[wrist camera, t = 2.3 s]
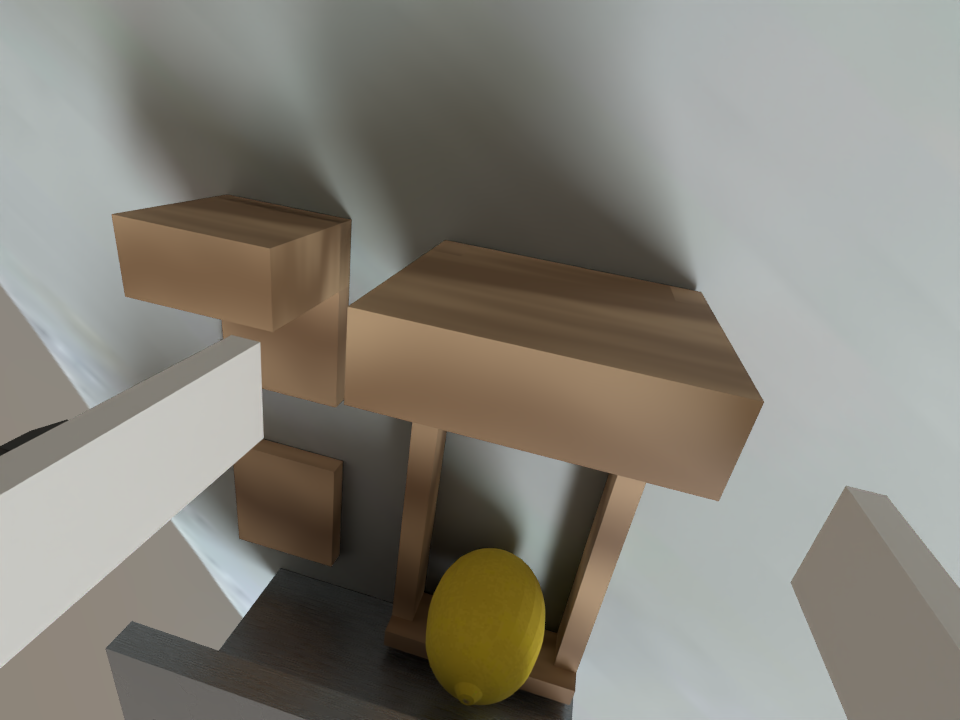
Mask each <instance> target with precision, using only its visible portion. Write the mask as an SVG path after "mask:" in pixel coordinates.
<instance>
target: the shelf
mask: <svg viewBox="0 0 960 720" xmlns="http://www.w3.org/2000/svg"><path fill="white" fill-rule="evenodd" d="M392 610H393V603H390V602H387V601H384V600H380V599H377V598H374V597H371V596H367V595H364V594H361V593H358V592H355V591H351V590H348V589H345V588H342V587H339V586H335V585H332V584H329V583H326V582H323V581H319V580H316V579H313V578H310V577H307V576H303V575H300V574H297V573H294V572H290V571H287V570H284V569H281V568H280V569H279V571H278V572H277V573H276V575H275V576H274V577H273V579H272V580H271V581H270V583H269V584H268V585H267V587H266V588H265V589H264V591H263V592H262V594H261V595H260V596H259V598H258V599H257V600H256V602H255V603H254V604H253V606H252V607H251V608H250V610H249V611H248V612H247V614H246V615H245V616H244V618H243V619H242V620H241V622H240V623H239V624H238V626H237V627H236V628H235V630H234V631H233V632H232V634H231V635H230V636H229V638H228V639H227V640H226V642H225V643H224V645H223V646H222V647H221V649H220V650H219V651H217V650H214V649H212V648H209V647H206V646H202V645H200V644H197V643H194V642H191V641H188V640H185V639H183V638H180V637H177V636H174V635H171V634H168V633H165V632H162V631H159V630H156V629H153V628H150V627H147V626H145V625H142V624H139V623H135V622H133V621H132V622H131V623H130V624H129V625H128V626H127V627H126V628H125V629H124V630H123V631H122V632H121V633H120V634H119V635H118V636H117V637H116V638H115V639H114V640H113V641H112V642H111V643H110V644H109V645H108V646H107V648H106V652H107V656H108V659H109V663H110V666H111V671H112V674H113V678H114V682H115V685H116V689H117V693H118V696H119V700H120V704H121V707H122V711H123V715H124V718H125V720H572V708H573V698H572V701H571V703H570V705H567V704H564V703H561V702H558V701H555V700H552V699H549V698H546V697H543V696H540V695H537V694H534V693H530V692H527V691H524V690H521V689H518V690H517V691H516V692H515V693H514V694H513V695H511V696H510V697H508V698H506V699H504V700H502V701H500V702H497V703H494V704H488V705H465V704H462V703H461V702H460V701H459V699H457V698H455V697H454V696H452V695H451V694H450V693H448V692H447V691H446V690H445V689H444V688H443V686H442V685H441V684H440V683H439V681H438V680H437V678H436V677H435V675H434V673H433V671H432V669H431V667H430V663H429V660H428V659H426V658H423V657H420V656H416V655H413V654H410V653H407V652H404V651H401V650H398V649H395V648H392V647H389V646H386V645H384V636H385V630H386V627H387V625H388V623H389V621H390V618H391V616H392Z"/></svg>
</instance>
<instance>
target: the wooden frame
mask: <svg viewBox="0 0 960 720" xmlns="http://www.w3.org/2000/svg"><path fill="white" fill-rule="evenodd" d="M763 403H764V401H763V399H762V397H761V396H760V394H759V392H758V390H757V389H756V387H755V385H754V383H753V382H752V380H751V378H750V376H749V375H748V373H747V371H746V370H745V368H744V366H743V364H742V363H741V361H740V359H739V357H738V356H737V354H736V352H735V350H734V349H733V347H732V345H731V343H730V342H729V340H728V338H727V336H726V335H725V333H724V331H723V329H722V328H721V326H720V324H719V322H718V321H717V319H716V317H715V315H714V314H713V312H712V310H711V308H710V307H709V305H708V303H707V301H706V300H705V298H704V296H703V294H702V293H701V292H698V291H693V290H688V289H684V288H679V287H674V286H669V285H664V284H659V283H654V282H649V281H644V280H639V279H634V278H630V277H625V276H620V275H615V274H610V273H605V272H600V271H595V270H590V269H585V268H580V267H576V266H571V265H566V264H561V263H556V262H551V261H546V260H541V259H536V258H531V257H526V256H521V255H517V254H512V253H507V252H502V251H497V250H492V249H487V248H482V247H477V246H472V245H467V244H463V243H458V242H453V241H448V240H445V241H443V242H442V243H440V244H439V245H437V246H436V247H434V248H433V249H431V250H430V251H429V252H427V253H426V254H424V255H423V256H421V257H420V258H418V259H417V260H415V261H414V262H412V263H411V264H409V265H408V266H407V267H405V268H404V269H402V270H401V271H399V272H398V273H396V274H395V275H393V276H392V277H390V278H389V279H387V280H386V281H384V282H383V283H382V284H380V285H379V286H377V287H376V288H374V289H373V290H371V291H370V292H368V293H367V294H365V295H364V296H362V297H361V298H360V299H358V300H357V301H355V302H354V303H352V304H351V305H349V306H348V309H347V338H346V366H345V395H344V405H347V406H351V407H355V408H359V409H363V410H367V411H371V412H375V413H378V414H382V415H386V416H390V417H394V418H398V419H402V420H406V421H409V422H412V431H411V440H410V450H409V459H408V468H407V478H406V487H405V497H404V506H403V516H402V525H401V535H400V544H399V554H398V563H397V572H396V582H395V591H394V601H393V610H392V616H391V618H390V621H389V623H388V625H387V627H386V630H385V636H384V645H386V646H389V647H392V648H395V649H398V650H401V651H404V652H407V653H410V654H413V655H416V656H420V657H423V658H426V659H428V656H427V652H426V628H427V618H428V611H429V607H430V603H431V600H432V597H433V595H430V594H427V593H424V588H425V580H426V573H427V566H428V559H429V552H430V545H431V538H432V531H433V524H434V517H435V510H436V503H437V496H438V489H439V482H440V475H441V468H442V461H443V454H444V447H445V440H446V433H447V431H448V432H452V433H456V434H460V435H464V436H468V437H472V438H475V439H479V440H483V441H487V442H491V443H495V444H499V445H503V446H506V447H510V448H514V449H518V450H522V451H526V452H530V453H534V454H537V455H541V456H545V457H549V458H553V459H557V460H561V461H565V462H568V463H572V464H576V465H580V466H584V467H588V468H592V469H596V470H600V471H603V472H607V473H609V475H608V478H607V481H606V484H605V487H604V490H603V493H602V496H601V499H600V503H599V506H598V509H597V512H596V515H595V518H594V521H593V524H592V527H591V530H590V533H589V536H588V540H587V543H586V546H585V549H584V552H583V555H582V558H581V561H580V564H579V567H578V570H577V573H576V577H575V580H574V583H573V586H572V589H571V592H570V595H569V598H568V601H567V604H566V607H565V611H564V614H563V617H562V620H561V623H560V626H559V629H558V632H557V633H555V632H551V631H548V630H544V637H543V642H542V646H541V649H540V652H539V655H538V657H537V660H536V662H535V664H534V666H533V669H532V671H531V673H530V675H529V677H528V678H527V680H526V681H525V683H524V684H523V685H522V686H521V687H520V688H519V689H521V690H524V691H527V692H530V693H534V694H537V695H540V696H543V697H546V698H549V699H552V700H555V701H558V702H561V703H564V704H567V705H570V703H571V701H572V698H573V695H574V693H575V683H576V672H577V669H578V666H579V664H580V661H581V658H582V656H583V653H584V650H585V647H586V645H587V642H588V639H589V637H590V634H591V631H592V628H593V626H594V623H595V620H596V617H597V615H598V612H599V609H600V607H601V604H602V601H603V598H604V596H605V593H606V590H607V588H608V585H609V582H610V579H611V577H612V574H613V571H614V569H615V566H616V563H617V560H618V558H619V555H620V552H621V550H622V547H623V544H624V541H625V539H626V536H627V533H628V531H629V528H630V525H631V522H632V520H633V517H634V514H635V511H636V509H637V506H638V503H639V501H640V498H641V495H642V492H643V490H644V487H645V484H646V483H650V484H654V485H658V486H662V487H665V488H669V489H673V490H677V491H681V492H685V493H689V494H693V495H696V496H700V497H704V498H708V499H712V500H716V501H719V500H720V497H721V495H722V493H723V491H724V489H725V487H726V484H727V482H728V480H729V478H730V476H731V473H732V471H733V469H734V467H735V465H736V462H737V460H738V458H739V456H740V454H741V451H742V449H743V447H744V445H745V443H746V441H747V438H748V436H749V434H750V432H751V430H752V427H753V425H754V423H755V421H756V419H757V416H758V414H759V412H760V410H761V408H762V405H763Z"/></svg>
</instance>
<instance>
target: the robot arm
mask: <svg viewBox="0 0 960 720" xmlns="http://www.w3.org/2000/svg"><path fill="white" fill-rule="evenodd" d="M263 438H264V434H263V406H262V378H261V350H260V342H258V341H254V340H250V339H246V338H241V337H237V336H233V335H230V336H229V337H227V338H225V339H223V340H221V341H219V342H217V343H215V344H213V345H211V346H209V347H208V348H206V349H204V350H202V351H200V352H198V353H196V354H194V355H192V356H190V357H188V358H187V359H185V360H183V361H181V362H179V363H177V364H175V365H173V366H171V367H169V368H167V369H166V370H164V371H162V372H160V373H158V374H156V375H154V376H152V377H150V378H148V379H146V380H145V381H143V382H141V383H139V384H137V385H135V386H133V387H131V388H129V389H127V390H126V391H124V392H122V393H120V394H118V395H116V396H114V397H112V398H110V399H108V400H106V401H105V402H103V403H101V404H99V405H97V406H95V407H93V408H91V409H89V410H87V411H85V412H84V413H82V414H80V415H78V416H76V417H74V418H72V419H70V420H64V421H61V422H58V423H55V424H51V425H48V426H45V427H42V428H38V429H35V430H32V431H29V432H27V433H25V434H23V435H21V436H20V437H17V438H15V439H14V440H12V441H10V442H8V443H6V444H4V445H2V446H0V668H1V667H2V666H3V665H5V664H6V663H7V662H8V661H9V660H10V659H11V658H13V657H14V656H15V655H16V654H17V653H18V652H20V651H21V650H22V649H23V648H24V647H25V646H26V645H27V644H28V643H30V642H31V641H32V640H33V639H34V638H35V637H37V636H38V635H39V634H40V633H41V632H42V631H43V630H45V629H46V628H47V627H48V626H49V625H50V624H51V623H53V622H54V621H55V620H56V619H57V618H58V617H60V615H62V614H63V613H64V612H65V611H66V610H68V609H69V608H70V607H71V606H72V605H73V604H74V603H76V601H78V600H79V599H80V598H81V597H82V596H83V595H85V594H86V593H87V592H88V591H89V590H90V589H91V588H93V587H94V586H95V585H96V584H97V583H98V582H99V581H101V580H102V579H103V578H104V577H105V576H106V575H108V574H109V573H110V572H111V571H112V570H113V569H114V568H115V567H117V566H118V565H119V564H120V563H121V562H122V561H123V560H124V559H126V558H127V557H128V556H129V555H130V554H132V553H133V552H134V551H135V550H136V549H137V548H138V547H140V546H141V545H142V544H143V543H144V542H145V541H146V540H148V539H149V538H150V537H151V536H152V535H153V534H154V533H156V532H157V531H158V530H159V529H160V528H161V527H162V526H163V525H165V524H166V523H167V522H168V521H169V520H170V519H172V518H173V517H174V516H175V515H176V514H177V513H178V512H180V511H181V510H182V509H183V508H184V507H185V506H186V505H188V504H189V503H190V502H191V501H192V500H193V499H195V498H196V497H197V496H198V495H199V494H200V493H201V492H203V491H204V490H205V489H206V488H207V487H208V486H209V485H211V484H212V483H213V482H214V481H215V480H216V479H217V478H219V477H220V476H221V475H222V474H223V473H224V472H225V471H227V470H228V469H229V468H230V467H231V466H232V465H233V464H235V463H236V462H237V461H238V460H239V459H240V458H241V457H243V456H244V455H245V454H246V453H247V452H248V451H249V450H251V449H252V448H253V447H254V446H255V445H256V444H257V443H259V442H260V441H261V440H262V439H263ZM791 584H792V587H793V589H794V592H795V594H796V596H797V599H798V601H799V604H800V606H801V608H802V611H803V613H804V615H805V618H806V620H807V623H808V625H809V627H810V630H811V632H812V635H813V637H814V639H815V642H816V644H817V647H818V649H819V651H820V654H821V656H822V659H823V661H824V663H825V666H826V668H827V671H828V673H829V675H830V678H831V680H832V683H833V685H834V687H835V690H836V692H837V695H838V697H839V699H840V702H841V704H842V707H843V709H844V711H845V714H846V716H847V719H848V720H960V588H959V587H958V586H957V585H956V583H955V582H954V581H953V580H952V578H951V577H950V576H949V574H948V573H947V572H946V571H945V569H944V568H943V567H942V566H941V564H940V563H939V562H938V560H937V559H936V558H935V557H934V555H933V554H932V553H931V552H930V550H929V549H928V548H927V546H926V545H925V544H924V543H923V541H922V540H921V539H920V538H919V536H918V535H917V534H916V533H915V531H914V530H913V529H912V527H911V526H910V525H909V524H908V522H907V521H906V520H905V519H904V517H903V516H902V515H901V513H900V512H899V511H898V510H897V508H896V507H895V506H894V505H893V503H892V502H891V501H890V499H889V498H888V497H887V496H885V495H881V494H877V493H873V492H869V491H865V490H861V489H857V488H853V487H849V486H846V487H845V488H844V490H843V492H842V494H841V495H840V497H839V499H838V501H837V502H836V504H835V506H834V508H833V509H832V511H831V513H830V515H829V516H828V518H827V520H826V522H825V523H824V525H823V527H822V529H821V530H820V532H819V534H818V536H817V537H816V539H815V541H814V543H813V544H812V546H811V548H810V550H809V551H808V553H807V555H806V557H805V558H804V560H803V562H802V564H801V565H800V567H799V569H798V571H797V572H796V574H795V576H794V577H793V579H792V581H791Z"/></svg>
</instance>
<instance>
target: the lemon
mask: <svg viewBox="0 0 960 720" xmlns="http://www.w3.org/2000/svg"><path fill="white" fill-rule="evenodd" d="M544 630H545V603H544V598H543V594H542V591H541V587H540V584H539V582H538V580H537V578H536V576H535V575H534V573H533V572H532V570H531V569H530V567H529V566H528V565H527V564H526V563H525V562H524V561H523V560H522V559H520V558H519V557H517V556H515V555H514V554H512V553H510V552H508V551H505V550H502V549H497V548H483V549H478V550H474V551H471V552H469V553H467V554H465V555H463V556H462V557H460V558H459V559H458V560H457V561H456V562H455V563H453V564H452V565H451V566H450V567H449V568H448V570H447V571H446V572H445V574H444V575H443V577H442V578H441V580H440V582H439V584H438V586H437V588H436V590H435V592H434V595H433V597H432V600H431V603H430V607H429V611H428V618H427V628H426V652H427V656H428V660H429V663H430V667H431V669H432V671H433V673H434V675H435V677H436V678H437V680H438V681H439V683H440V684H441V685H442V686H443V688H444V689H445V690H446V691H447V692H448V693H450V694H451V695H452V696H454V697H455V698H457V699H459V701H460V702H461V703H462V704H465V705H488V704H494V703H497V702H500V701H502V700H504V699H506V698H508V697H510V696H511V695H513V694H514V693H515V692H516V691H517V690H518V689H519V688H520V687H521V686H522V685H523V684H524V683H525V681H526V680H527V678H528V677H529V675H530V673H531V671H532V669H533V666H534V664H535V662H536V660H537V657H538V655H539V652H540V649H541V646H542V642H543V637H544Z"/></svg>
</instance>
